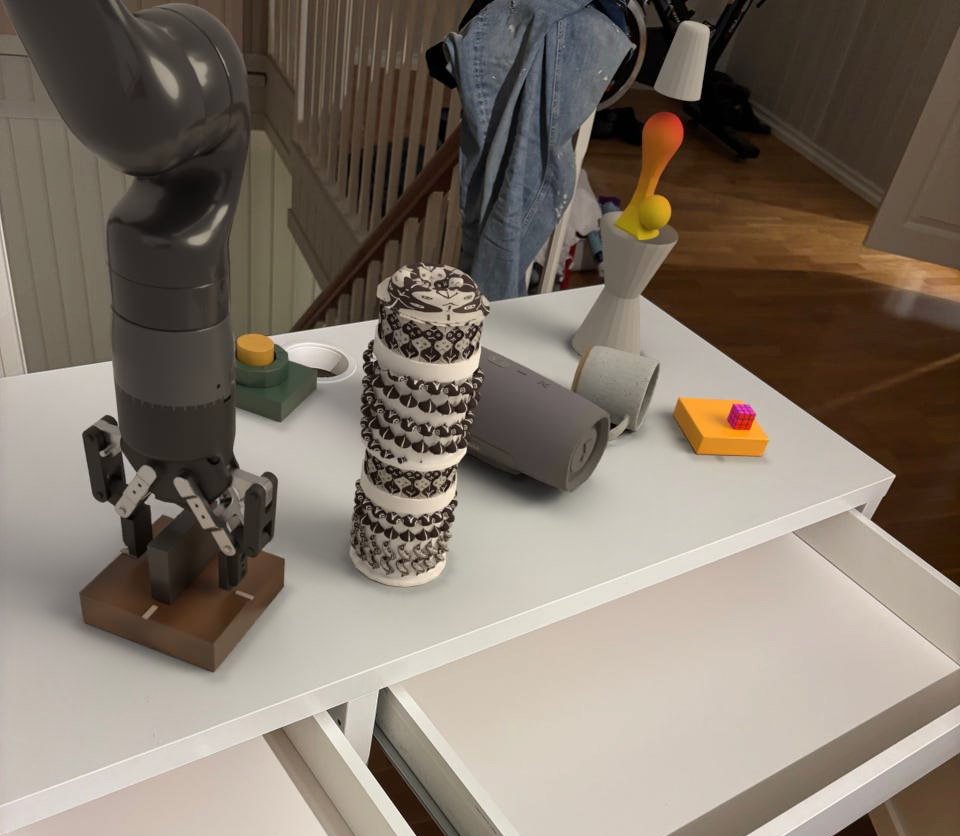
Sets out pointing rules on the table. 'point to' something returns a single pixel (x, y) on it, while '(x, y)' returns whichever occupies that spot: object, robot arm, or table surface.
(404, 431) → the patterned cylindrical tower
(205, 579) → the rotary knob block
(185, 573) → the rotary switch knob
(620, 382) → the ceramic mug
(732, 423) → the orange square block
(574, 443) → the bluetooth speaker
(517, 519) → the table surface
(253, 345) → the button
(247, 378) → the button block
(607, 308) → the lava lamp
